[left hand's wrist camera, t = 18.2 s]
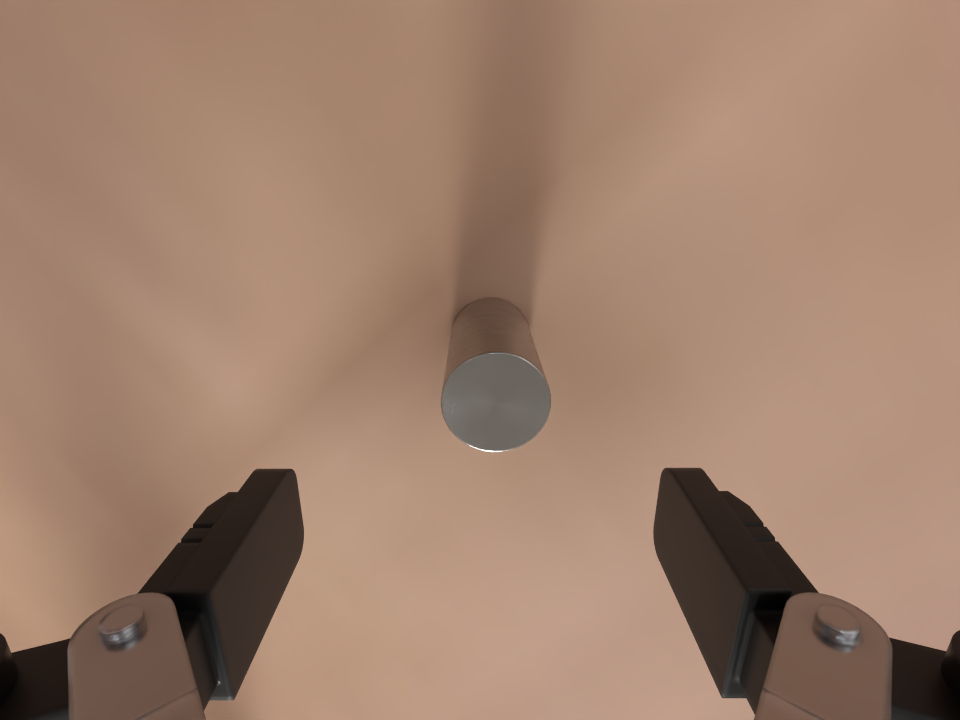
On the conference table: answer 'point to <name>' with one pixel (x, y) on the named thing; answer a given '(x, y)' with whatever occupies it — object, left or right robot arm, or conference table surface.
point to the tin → (494, 378)
